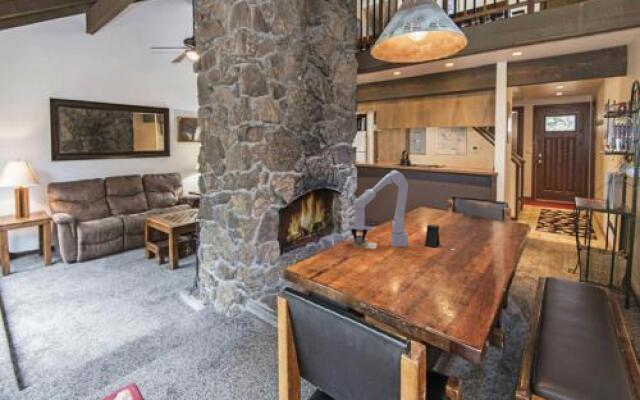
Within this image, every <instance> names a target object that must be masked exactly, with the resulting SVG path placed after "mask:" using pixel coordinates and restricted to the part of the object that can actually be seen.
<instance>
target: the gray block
mask: <svg viewBox="0 0 640 400" xmlns="http://www.w3.org/2000/svg"><path fill="white" fill-rule="evenodd" d="M356 244H362V245H363V235H360V234H359V235H357V234H356Z"/></svg>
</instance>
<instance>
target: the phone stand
mask: <svg viewBox="0 0 640 400" xmlns="http://www.w3.org/2000/svg"><path fill="white" fill-rule="evenodd" d="M440 240H441V239H440V226H439V225H435V224H427V226H426V236H425V239H424V241H425V242H424V247H427V248H433V249H436V248H437V247H438V246H440V243H441V241H440Z"/></svg>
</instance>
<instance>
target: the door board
mask: <svg viewBox="0 0 640 400" xmlns="http://www.w3.org/2000/svg"><path fill="white" fill-rule="evenodd" d="M377 244H378V242H377V243H376V242H369V238H368V237H365V238H364V243H363V245H362V244H356V242H355V240H354V241H353V244H352V247H353V249H354V248H355V249H375V250H376V249H377V246H378V245H377Z"/></svg>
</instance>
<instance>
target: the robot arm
mask: <svg viewBox="0 0 640 400" xmlns="http://www.w3.org/2000/svg"><path fill="white" fill-rule="evenodd" d="M393 183H394V184H395V185H396V186H397V187H398V193H397V200H396V205H395V206H396V207H395V213H394V217H393V220H392V221H391V227H392V229H391V244H390V245H391V247H395V248H408V246H409V233H408V231H405V229H406V226H405V210H406V203H407V199H408V192H409V191H408V190H409V184H408V182H407V180H406V177H405V175H403V174H402V172H400V171H399V170H396V169H393V170H391V171H390V172H389V173H387V174H386V175H385V176H384V177H382V178H381V180H380V181H379V182H377V183H376V184H375V185H374V187H372V188H369V189H365V191H364V193H363V194H361V195H359V196H358V198H356V199H355V200H354V203H353V204H354V206H355V207H354V225H347V226H346V230H347V231H349V230H350V231H351V234H352V235H353V239H354V241H355V242H356V236H357V231H362V236H363V243H364V240H365V239H366V236H367V233H368V232H369V231H370V232H371V231H372V232H373V226H367V225H366V223H365V222H366V221H365V220H366V218H365V217H366V216H365V215H366V214H365V213H366V212H365V208H366V206H367V204H369V203H370V202H371V201H372V200H373V199H374V198H376V194H377V193H378V192H379V191H380V190H381V189H383V188H384V187H385V186H386V185H390V184H393Z"/></svg>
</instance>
